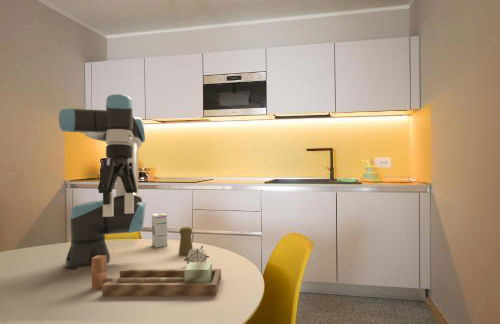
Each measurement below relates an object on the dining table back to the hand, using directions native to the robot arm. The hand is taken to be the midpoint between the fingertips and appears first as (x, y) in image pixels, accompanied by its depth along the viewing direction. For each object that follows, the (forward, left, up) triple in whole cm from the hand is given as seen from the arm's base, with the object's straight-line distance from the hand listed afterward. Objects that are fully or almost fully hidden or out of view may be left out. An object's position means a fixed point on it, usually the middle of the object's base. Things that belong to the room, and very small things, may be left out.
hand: (119, 215), depth 95 cm
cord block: (+10, 0, -22) cm, 24 cm away
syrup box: (-3, +51, -23) cm, 56 cm away
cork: (+12, +38, -23) cm, 46 cm away
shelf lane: (+14, 0, -23) cm, 26 cm away
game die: (+20, +18, -23) cm, 35 cm away
